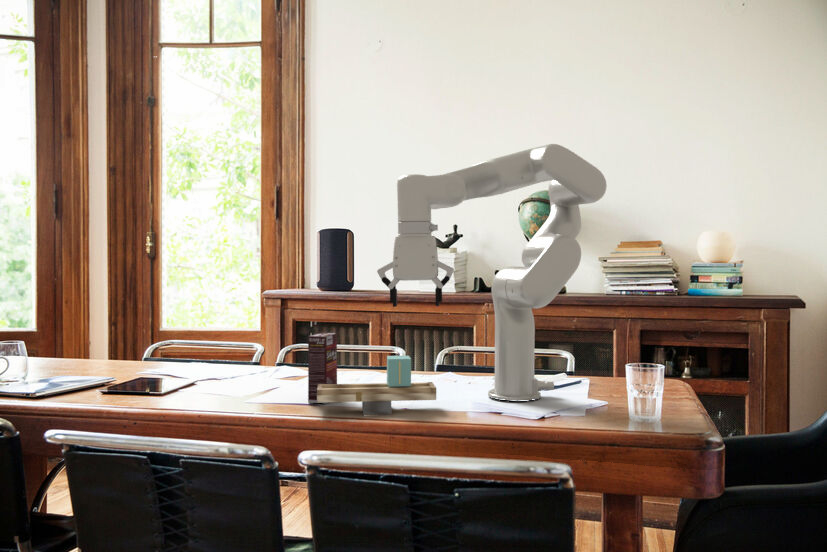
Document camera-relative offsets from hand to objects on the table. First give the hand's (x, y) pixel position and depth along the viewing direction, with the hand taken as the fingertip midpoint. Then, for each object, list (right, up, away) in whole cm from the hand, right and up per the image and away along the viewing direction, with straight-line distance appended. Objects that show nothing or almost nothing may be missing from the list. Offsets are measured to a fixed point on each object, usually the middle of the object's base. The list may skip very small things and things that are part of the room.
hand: (416, 306), depth 158 cm
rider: (-4, -19, -2) cm, 19 cm away
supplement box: (-22, -23, +10) cm, 34 cm away
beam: (-9, -23, -2) cm, 25 cm away
